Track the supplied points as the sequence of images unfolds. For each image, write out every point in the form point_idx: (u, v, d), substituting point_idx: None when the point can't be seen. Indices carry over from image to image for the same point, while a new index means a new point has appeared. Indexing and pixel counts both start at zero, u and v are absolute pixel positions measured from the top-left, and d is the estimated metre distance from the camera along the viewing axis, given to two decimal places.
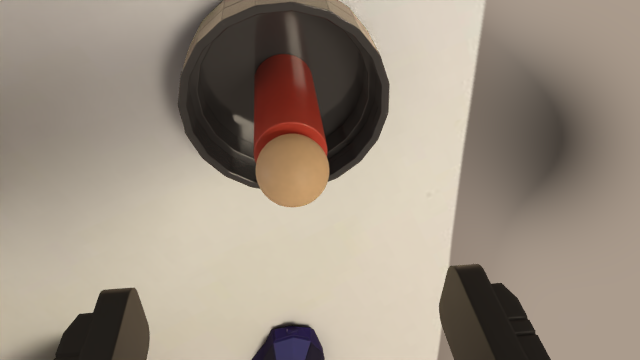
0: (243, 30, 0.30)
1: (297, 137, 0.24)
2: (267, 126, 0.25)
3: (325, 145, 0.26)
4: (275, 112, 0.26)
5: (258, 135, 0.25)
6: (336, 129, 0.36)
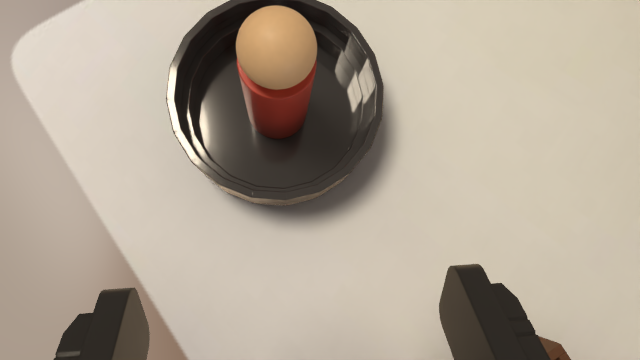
0: (246, 165, 0.32)
1: None
2: (258, 96, 0.24)
3: None
4: (251, 97, 0.25)
5: (273, 100, 0.24)
6: None
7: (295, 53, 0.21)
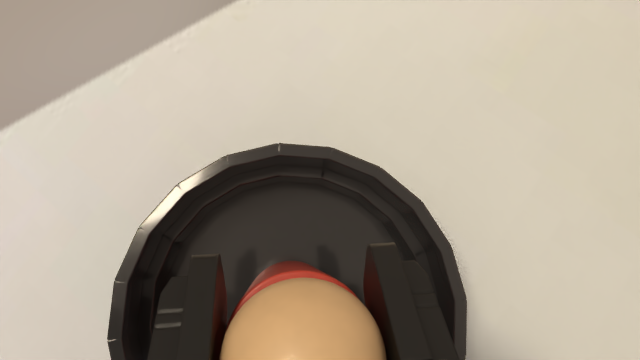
0: None
1: None
2: None
3: (251, 292, 0.12)
4: None
5: None
6: (329, 188, 0.22)
7: None
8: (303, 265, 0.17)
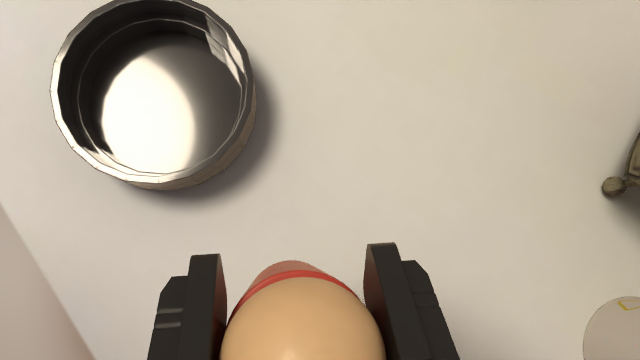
0: (136, 153, 0.35)
1: None
2: None
3: (251, 291, 0.12)
4: None
5: None
6: (194, 36, 0.36)
7: None
8: (303, 265, 0.17)
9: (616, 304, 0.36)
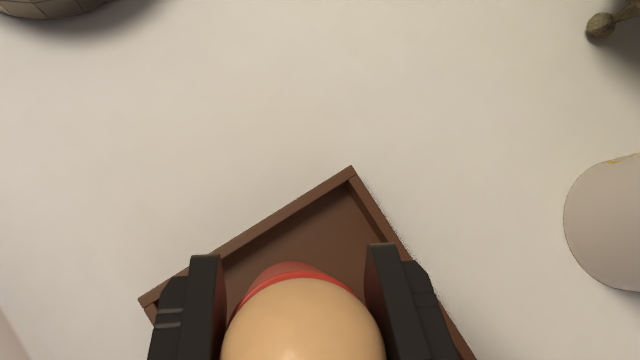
0: None
1: None
2: None
3: (251, 292, 0.12)
4: None
5: None
6: None
7: None
8: (303, 265, 0.16)
9: (603, 163, 0.29)
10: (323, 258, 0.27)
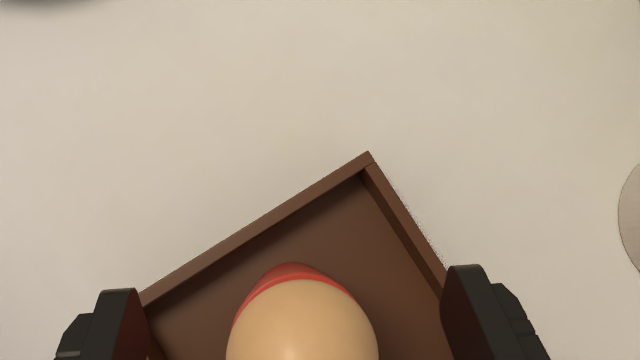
0: None
1: None
2: None
3: (255, 292, 0.14)
4: None
5: None
6: None
7: None
8: (304, 267, 0.18)
9: None
10: (334, 263, 0.23)
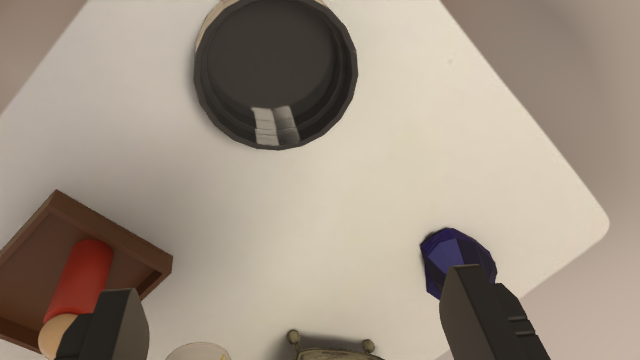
0: (222, 50, 0.40)
1: (47, 323, 0.38)
2: (44, 319, 0.40)
3: (79, 308, 0.40)
4: None
5: None
6: (335, 66, 0.43)
7: None
8: (102, 287, 0.44)
9: (221, 354, 0.59)
10: (119, 263, 0.49)
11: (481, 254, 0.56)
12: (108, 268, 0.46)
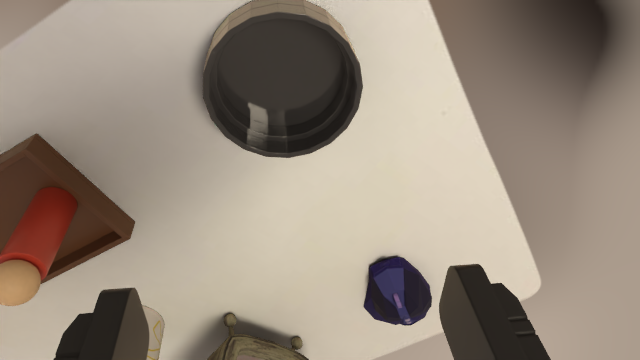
0: (237, 48, 0.41)
1: (0, 266, 0.39)
2: None
3: (35, 258, 0.40)
4: (4, 247, 0.41)
5: None
6: (338, 91, 0.44)
7: None
8: (61, 239, 0.45)
9: (157, 320, 0.60)
10: (81, 216, 0.50)
11: (422, 287, 0.60)
12: (70, 221, 0.47)
